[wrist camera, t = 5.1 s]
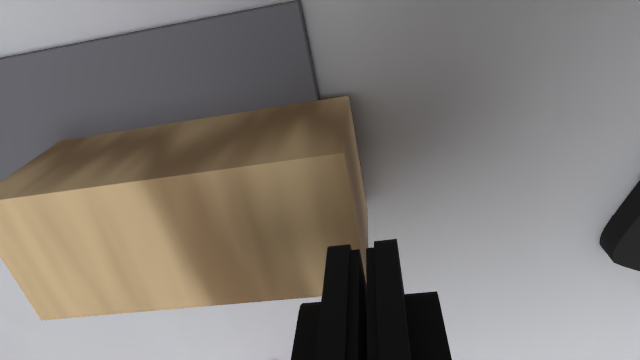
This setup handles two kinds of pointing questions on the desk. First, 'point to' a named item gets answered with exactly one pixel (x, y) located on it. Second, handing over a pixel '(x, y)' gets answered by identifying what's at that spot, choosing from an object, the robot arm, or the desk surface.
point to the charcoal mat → (153, 79)
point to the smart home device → (624, 232)
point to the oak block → (186, 212)
